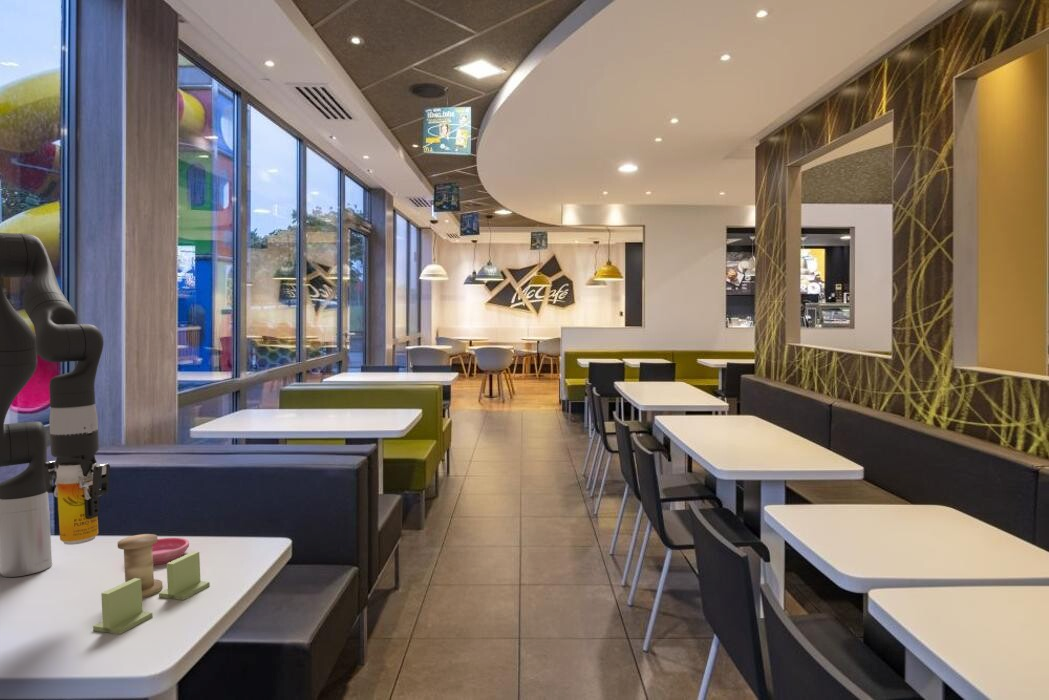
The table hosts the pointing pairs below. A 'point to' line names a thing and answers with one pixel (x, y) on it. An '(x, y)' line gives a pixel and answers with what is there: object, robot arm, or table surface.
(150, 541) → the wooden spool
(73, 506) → the beer can
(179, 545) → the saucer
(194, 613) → the table surface
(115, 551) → the table surface
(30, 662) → the table surface
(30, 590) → the table surface
